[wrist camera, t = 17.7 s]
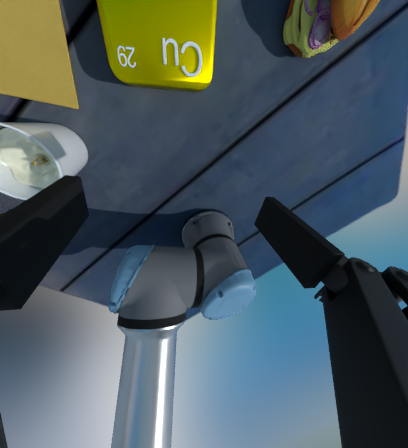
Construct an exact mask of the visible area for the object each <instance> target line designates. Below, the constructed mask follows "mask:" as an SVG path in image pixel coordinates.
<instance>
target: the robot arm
mask: <svg viewBox="0 0 408 448" xmlns="http://www.w3.org/2000/svg"><path fill="white" fill-rule="evenodd" d="M88 216H89V212H88V208H87V204H86V199H85V195H84V191H83V186H82V182H81V177H78V176H69V175H65V176H63V177H62V178H60V179H59V180H57V181H55V182H54V183H52V184H51V185H49V186H48V187H46V188H45V189H43V190H41V191H40V192H38V193H37V194H35V195H34V196H32V197H31V198H29V199H27V200H26V201H24V202H23V203H21V204H20V205H18V206H17V207H15V208H13V209H12V210H10V211H9V212H7V213H6V214H0V310H13V309H14V310H15V309H21V308H22V307H23V305H24V304H25V303H26V301H27V300H28V298H29V297H30V296H31V294H32V293H33V292H34V290H35V289H36V287H37V286H38V285H39V283H40V282H41V281H42V279H43V278H44V276H45V275H46V274H47V272H48V271H49V270H50V268H51V267H52V266H53V264H54V263H55V261H56V260H57V259H58V257H59V256H60V255H61V253H62V252H63V250H64V249H65V248H66V246H67V245H68V244H69V242H70V241H71V240H72V238H73V237H74V235H75V234H76V233H77V231H78V230H79V229H80V227H81V226H82V224H83V223H84V222H85V220H86V219H87V218H88ZM255 226H256V227H257V228H258V230H259V231H260V232H261V233H262V235H263V236H264V237H265V239H266V240H267V241H268V242H269V244H270V245H271V246H272V247H273V249H274V250H275V251H276V253H277V254H278V255H279V256H280V258H281V259H282V260H283V262H284V263H285V264H286V265H287V267H288V268H289V269H290V270H291V272H292V273H293V274H294V276H295V277H296V278H297V279H298V281H299V282H300V283H301V284H302V286H303V287H304V288H315V287H316V286H317V285H318V283H319V282H320V281H322V282H323V283H324V284H325V285H324V286H323V287H322V288H321V290H319V292H318V293H317V294H316V295H315V297H314V298H315V299H317V297H319V296H322V298H321V299H320V300H319V301H321V302H323V306H324V313H325V321H326V329H327V337H328V344H329V352H330V360H331V367H332V374H333V383H334V390H335V398H336V405H337V413H338V420H339V428H340V436H341V444H342V448H408V306H407V307H406V308H404V309H402V310H401V308H400V307H399V305H398V303H399V302H401V301H402V300H403V301H404V302H405V303H406V304H407V305H408V272H407V271H404V270H403V269H399V268H396V267H392V266H391V267H388V268H387V269H386V270H385V271H383V272H378V270H377V269H376V268H375V267H373V266H372V265H370V264H369V263H367V262H365V261H363V260H361V259H358V258H353V257H352V258H350V259H348V258H347V257H345V256H344V255H345V254H344V253H343V252H342V251H340V250H339V249H338V248H336V247H335V246H334V245H333V244H332V243H330V242H329V241H328V240H326V239H325V238H324V237H323V236H322V235H320V234H319V233H318V232H317V231H315V230H314V229H313V228H312V227H310V226H309V225H308V224H307V223H305V222H304V221H303V220H302V219H300V218H299V217H298V216H297V215H295V214H294V213H293V212H292V211H290V210H289V209H288V208H287V207H285V206H284V205H283V204H282V203H280V202H279V201H278V200H277V199H275V198H274V197H266V198H265V200H264V203H263V205H262V207H261V210H260V212H259V214H258V217H257V219H256V221H255ZM182 241H183V243H184V245H185V247H169V246H155V245H154V244H153V245H135V246H132V247H130V248H129V249H128V250H127V251H126V253H125V254H124V256H123V258H122V260H121V262H120V265H119V267H118V270H117V273H116V276H115V279H114V282H113V286H112V290H111V294H110V303H109V310H110V311H111V312H113V313H119V316H118V323H117V326H118V328H119V329H121V331H122V332H123V333H124V334H125V344H124V352H123V361H122V368H121V376H120V383H119V391H118V398H117V406H116V414H115V421H114V430H113V437H112V445H111V448H171V436H172V415H173V396H174V376H175V356H176V336H177V330H178V329H179V328H180V327H181V326H182V325H183V324H184V322H185V320H186V309H187V308H197V307H200V311H201V313H202V314H203V316H204V317H205V318H208V319H210V320H218V319H223V318H226V317H229V316H231V315H233V314H235V313H237V312H239V311H240V310H242V309H244V308H245V307H246V306H247V305H248V304H249V303H250V302H251V301H252V300H253V298H254V296H255V294H256V284H255V281H254V279H253V277H252V273H251V271H250V269H249V268H248V266H247V264H246V262H245V260H244V258H243V257H242V255H241V253H240V251H239V249H238V248H237V246H236V244H235V242H234V231H233V225H232V223H231V221H230V219H229V218H228V216H227V215H226V214H224V213H223V212H221V211H218V210H203V211H199V212H197V213H195V214H193V215H192V216H191V217H189V218H188V219H187V220H186V222H185V223H184V225H183V227H182ZM0 448H8V447H7V442H6V438H5V433H4V428H3V424H2V419H1V414H0Z"/></svg>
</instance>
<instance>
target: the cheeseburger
mask: <svg viewBox="0 0 408 448" xmlns="http://www.w3.org/2000/svg"><path fill="white" fill-rule="evenodd" d="M378 2H379V0H291V3H290V6H289V10H288V13H287V17H286V21H285V24H284V28H283V38H284V42H285V44H286V45H288V47H289V48H290V49H291V51H292V52H293V53H294V54H295V55H297V56H300V57H302V58H309V57H311V56H313V55H316V54H317V53H320V52H325V51H326V50H328V49H329V48H331V47H332V46H333V45H335V44H336V43H337V42H338V41H341V40H343V39H346V38H347V37H348V36H349V35H351V34H352V33H354V32H355V31H356V29H357V28H358V27H359V26H360V25H361V24H362V23H363V22H364V21H365V20H366V19H367V17H368V16H369V15H370V14H371V13H372V11H373V10H374V9H375V7H376V6H377V4H378Z"/></svg>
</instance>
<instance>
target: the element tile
mask: <svg viewBox="0 0 408 448" xmlns="http://www.w3.org/2000/svg"><path fill="white" fill-rule="evenodd" d="M96 1H97V6H98V11H99V16H100V21H101V26H102V31H103V36H104V41H105V46H106V51H107V56H108V61H109V65H110V67H111V69H112V71H113V73H114V75H115V76H116V77H117V78H118V79H119V80H121V81H122V82H124V83H125V84H127V85H129V86H133V87H144V88H154V89H165V90H176V91H186V92H199V91H202V90H204V89H205V88H207V87H208V85H209V84H210V82H211V79H212V75H213V59H214V44H215V28H216V13H217V0H96Z"/></svg>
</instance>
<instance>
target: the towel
mask: <svg viewBox="0 0 408 448" xmlns="http://www.w3.org/2000/svg"><path fill="white" fill-rule="evenodd" d="M0 93H1V94H6V95H11V96H16V97H21V98H26V99H31V100H36V101H41V102H45V103H50V104H55V105H60V106H65V107H70V108H75V109H79V105H78V100H77V95H76V89H75V84H74V79H73V73H72V68H71V63H70V58H69V52H68V47H67V42H66V36H65V31H64V26H63V21H62V15H61V10H60V5H59V0H0Z"/></svg>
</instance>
